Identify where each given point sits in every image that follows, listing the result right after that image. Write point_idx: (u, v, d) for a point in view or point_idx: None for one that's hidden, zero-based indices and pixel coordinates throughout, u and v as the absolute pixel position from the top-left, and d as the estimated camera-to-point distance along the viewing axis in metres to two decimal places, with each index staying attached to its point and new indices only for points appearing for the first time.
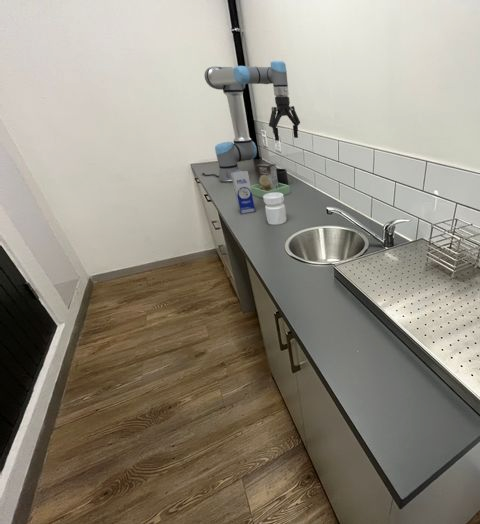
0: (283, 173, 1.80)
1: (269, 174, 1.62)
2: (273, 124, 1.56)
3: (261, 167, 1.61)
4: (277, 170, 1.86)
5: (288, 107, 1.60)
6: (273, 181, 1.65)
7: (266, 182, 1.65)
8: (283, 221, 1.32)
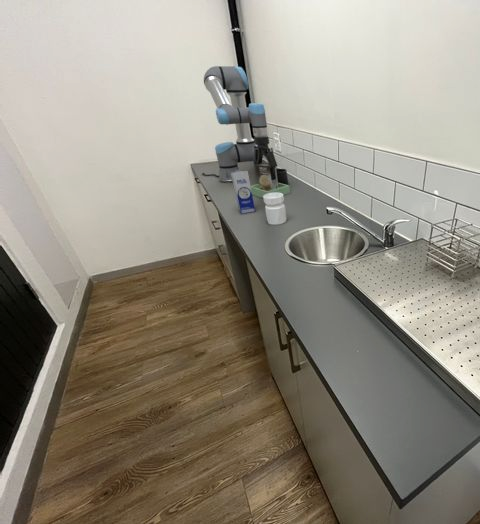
0: (283, 173, 1.80)
1: (269, 174, 1.62)
2: (255, 161, 1.66)
3: (261, 167, 1.61)
4: (277, 170, 1.86)
5: (264, 147, 1.56)
6: (273, 181, 1.65)
7: (266, 182, 1.65)
8: (283, 221, 1.32)
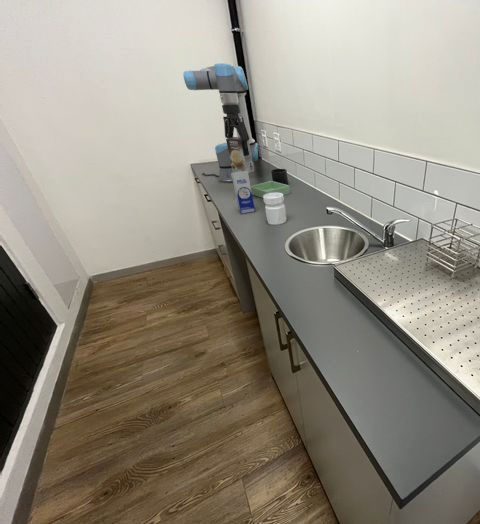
0: (283, 173, 1.80)
1: (241, 149, 1.41)
2: (226, 135, 1.45)
3: (231, 141, 1.40)
4: (277, 170, 1.86)
5: (233, 117, 1.35)
6: (246, 157, 1.44)
7: (238, 158, 1.44)
8: (283, 221, 1.32)
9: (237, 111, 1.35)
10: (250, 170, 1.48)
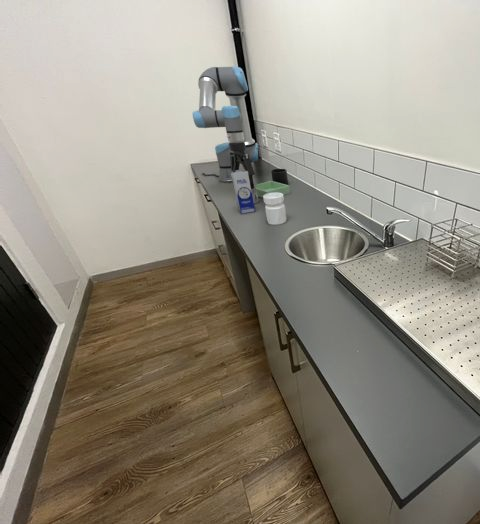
0: (283, 173, 1.80)
1: None
2: (232, 168, 1.53)
3: None
4: (277, 170, 1.86)
5: (240, 154, 1.43)
6: (251, 190, 1.52)
7: None
8: (283, 221, 1.32)
9: (243, 148, 1.43)
10: (255, 201, 1.56)
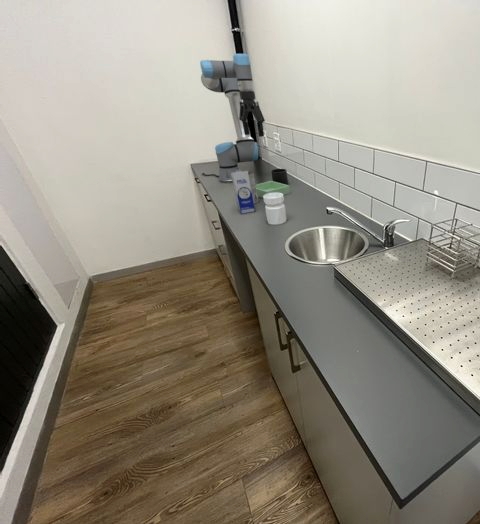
0: (283, 173, 1.80)
1: None
2: (240, 118, 1.61)
3: None
4: (277, 170, 1.86)
5: (249, 102, 1.51)
6: (251, 190, 1.52)
7: None
8: (283, 221, 1.32)
9: (253, 97, 1.50)
10: (255, 201, 1.56)
